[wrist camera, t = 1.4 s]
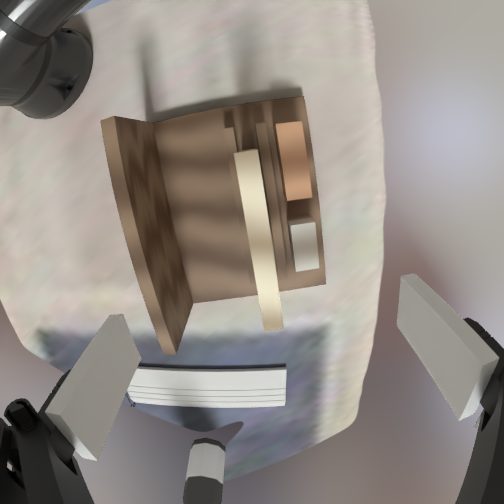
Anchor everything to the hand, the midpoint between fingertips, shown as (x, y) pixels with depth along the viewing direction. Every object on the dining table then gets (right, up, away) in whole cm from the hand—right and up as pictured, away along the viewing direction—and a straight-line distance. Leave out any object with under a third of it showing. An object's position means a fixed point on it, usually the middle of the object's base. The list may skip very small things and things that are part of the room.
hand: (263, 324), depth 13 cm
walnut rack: (-2, +10, +27) cm, 29 cm away
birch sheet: (0, +9, +25) cm, 27 cm away
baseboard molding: (-10, -23, +39) cm, 47 cm away
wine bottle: (-11, -42, +46) cm, 63 cm away
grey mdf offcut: (+6, +5, +27) cm, 28 cm away
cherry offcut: (+4, +15, +23) cm, 28 cm away
